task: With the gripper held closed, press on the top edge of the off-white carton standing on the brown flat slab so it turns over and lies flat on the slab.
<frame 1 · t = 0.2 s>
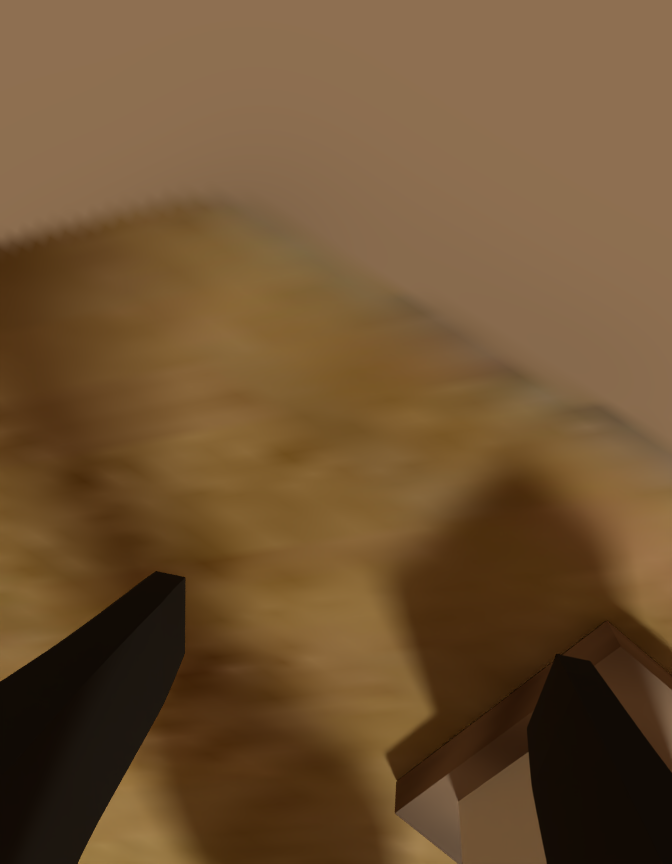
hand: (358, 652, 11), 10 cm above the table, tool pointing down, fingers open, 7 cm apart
carton: (563, 791, 21), point 1 cm above the table, touching brown flat slab
brown flat slab: (632, 823, 23), on the table
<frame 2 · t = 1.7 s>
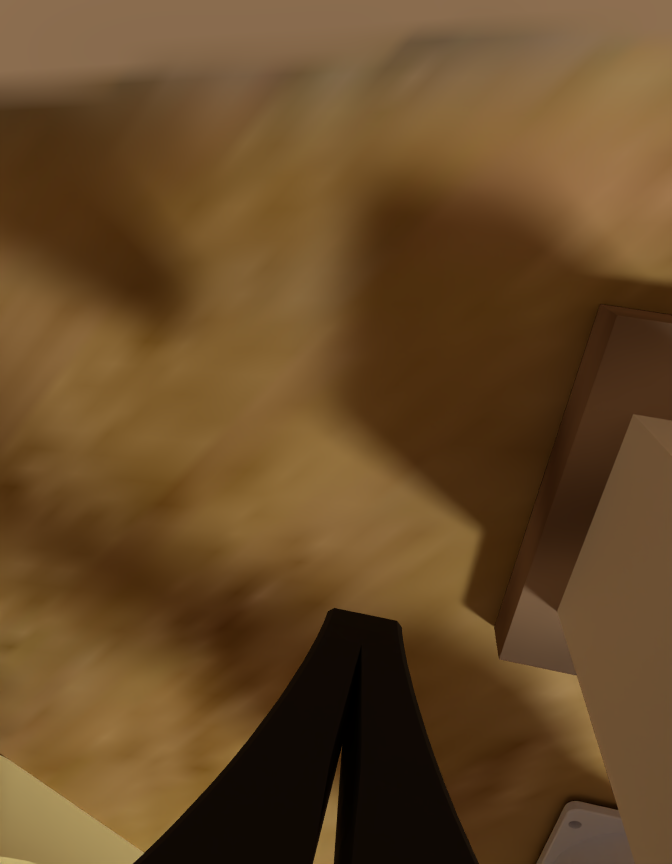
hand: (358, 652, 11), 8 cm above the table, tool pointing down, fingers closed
carton: (670, 536, 16), point 1 cm above the table, touching brown flat slab
slatted curved stool: (21, 840, 32), on the table
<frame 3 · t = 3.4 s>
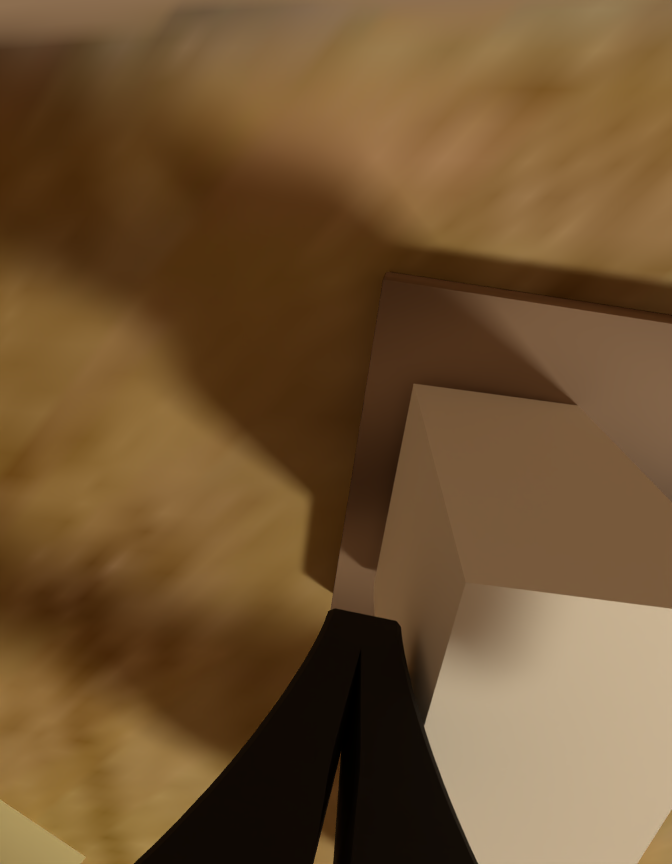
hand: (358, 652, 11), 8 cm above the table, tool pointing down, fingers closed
carton: (466, 503, 16), point 2 cm above the table, tilted 6°, touching brown flat slab, gripper
brown flat slab: (603, 501, 17), on the table
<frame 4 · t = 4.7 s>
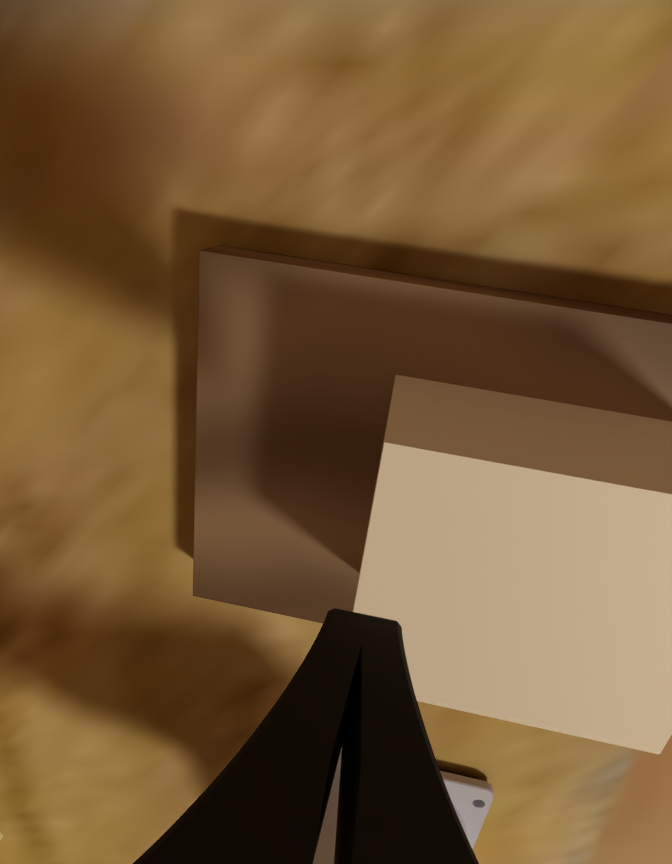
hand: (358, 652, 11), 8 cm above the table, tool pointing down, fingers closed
carton: (368, 523, 15), point 4 cm above the table, tilted 90°, touching brown flat slab
brown flat slab: (447, 472, 18), on the table
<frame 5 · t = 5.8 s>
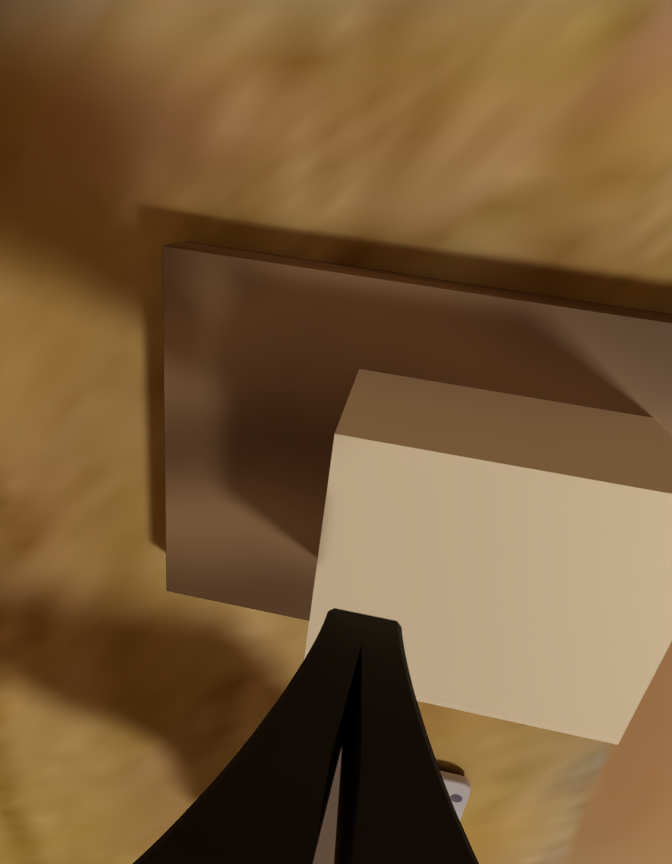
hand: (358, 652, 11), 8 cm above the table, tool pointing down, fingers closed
carton: (331, 516, 15), point 4 cm above the table, tilted 90°, touching brown flat slab
brown flat slab: (416, 467, 18), on the table
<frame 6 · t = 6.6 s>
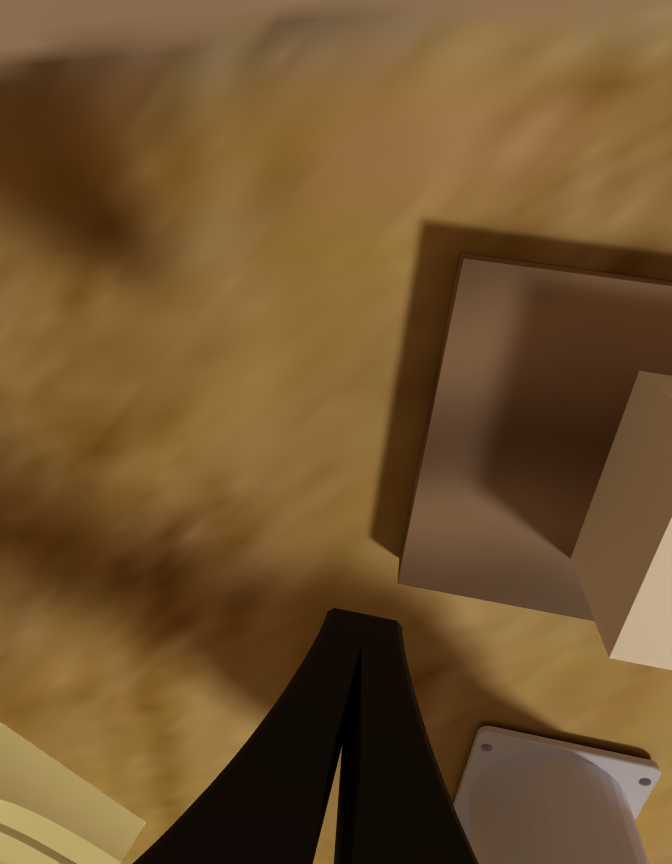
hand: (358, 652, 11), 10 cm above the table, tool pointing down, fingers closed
carton: (624, 509, 16), point 4 cm above the table, tilted 90°, touching brown flat slab
brown flat slab: (655, 463, 19), on the table
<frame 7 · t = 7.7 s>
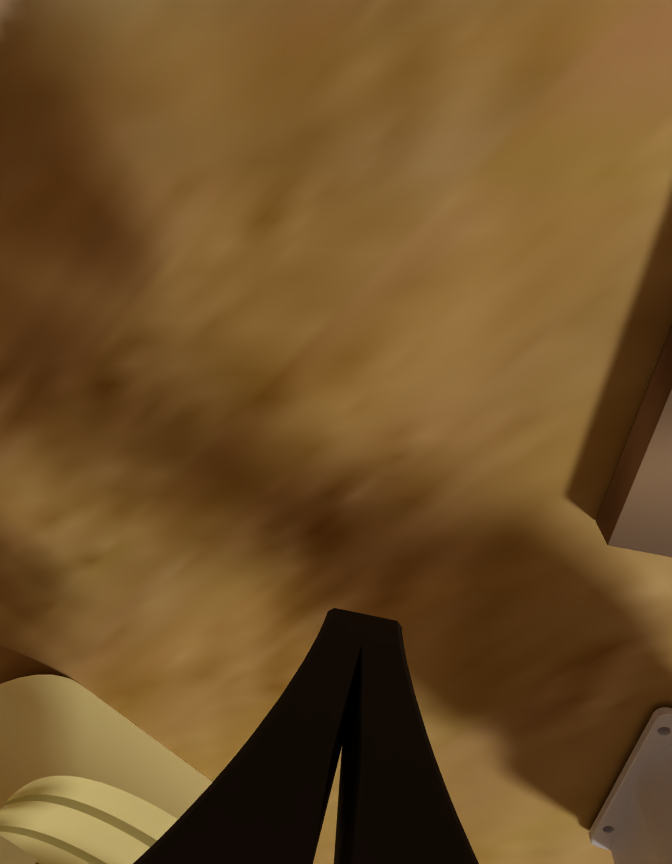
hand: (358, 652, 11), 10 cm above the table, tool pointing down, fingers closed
slatted curved stool: (84, 773, 32), on the table
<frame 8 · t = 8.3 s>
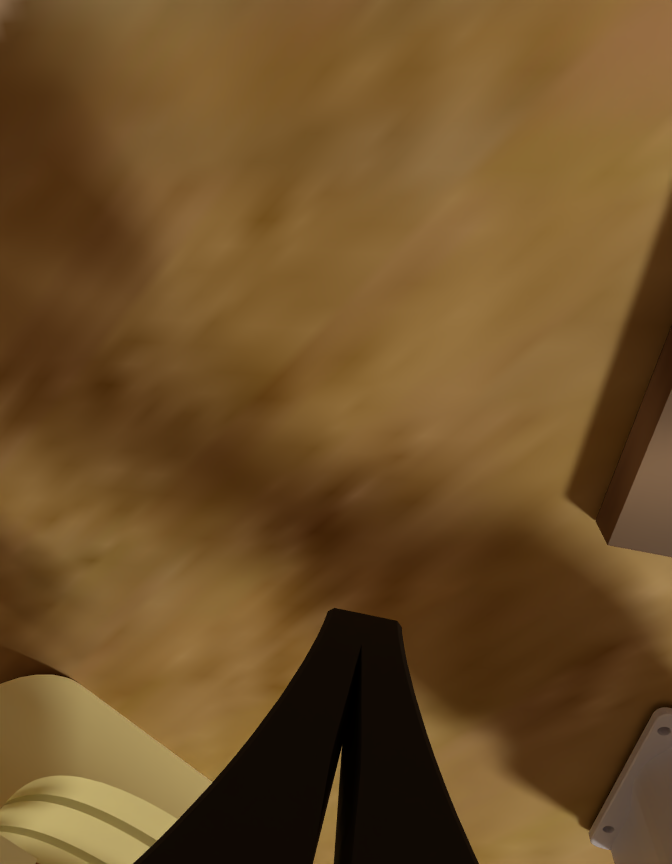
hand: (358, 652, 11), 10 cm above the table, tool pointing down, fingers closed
slatted curved stool: (84, 773, 32), on the table
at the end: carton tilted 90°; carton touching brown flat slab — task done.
